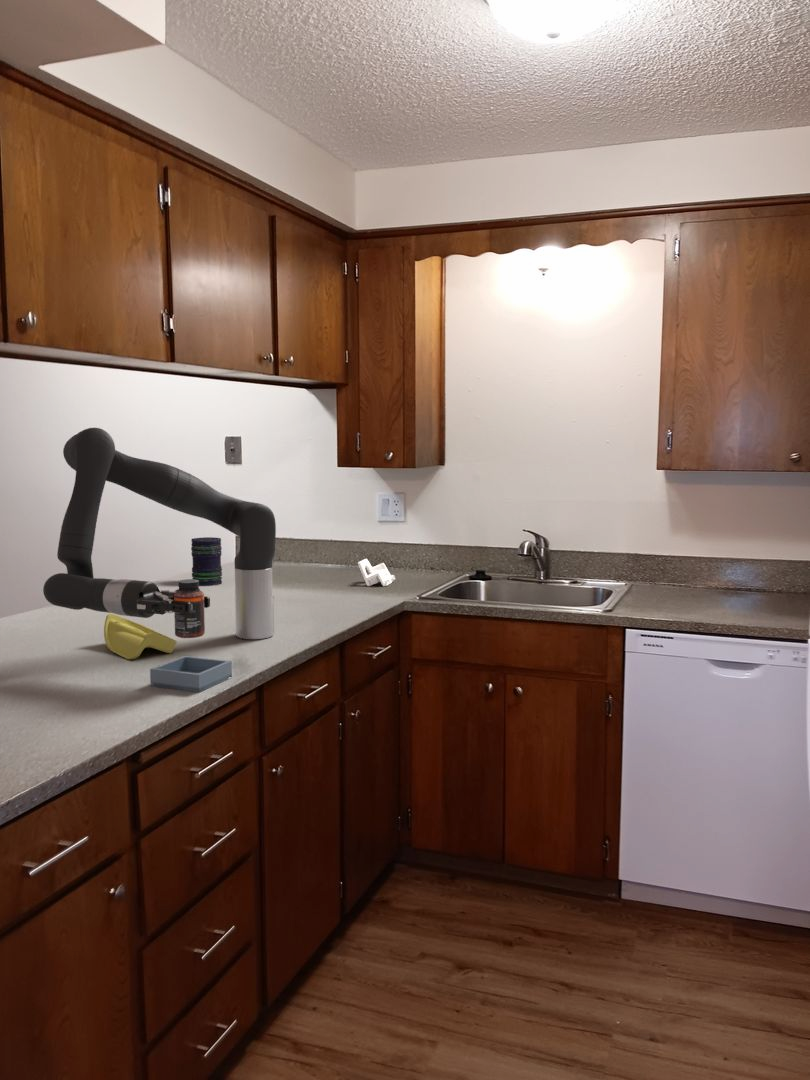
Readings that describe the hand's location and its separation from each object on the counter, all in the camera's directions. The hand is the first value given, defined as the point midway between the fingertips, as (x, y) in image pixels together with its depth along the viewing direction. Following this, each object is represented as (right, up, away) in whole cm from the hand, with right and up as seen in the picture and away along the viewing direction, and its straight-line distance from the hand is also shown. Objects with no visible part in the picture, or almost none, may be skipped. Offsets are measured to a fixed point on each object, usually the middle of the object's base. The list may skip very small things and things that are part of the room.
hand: (199, 605), depth 183 cm
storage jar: (-25, -2, +121) cm, 123 cm away
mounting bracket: (+32, -2, +122) cm, 126 cm away
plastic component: (-21, -13, +30) cm, 39 cm away
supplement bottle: (-2, -7, +2) cm, 7 cm away
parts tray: (-2, -16, +3) cm, 16 cm away
